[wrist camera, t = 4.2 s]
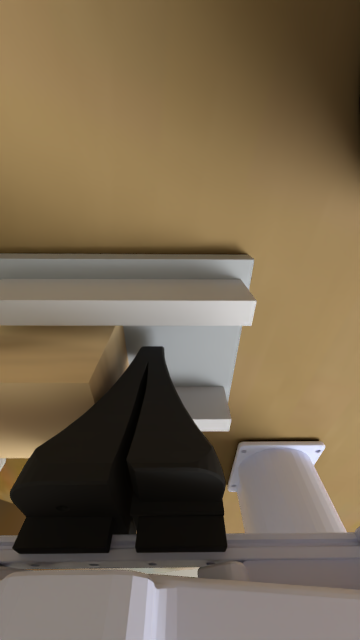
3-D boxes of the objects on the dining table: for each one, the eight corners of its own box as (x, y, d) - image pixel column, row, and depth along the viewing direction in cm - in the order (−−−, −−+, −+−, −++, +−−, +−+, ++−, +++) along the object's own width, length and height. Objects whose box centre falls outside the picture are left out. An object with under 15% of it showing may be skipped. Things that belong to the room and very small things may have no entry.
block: (130, 378, 14) (110, 457, 10) (41, 378, 14) (-18, 458, 10) (121, 313, 12) (88, 382, 7) (11, 313, 12) (-85, 382, 7)
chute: (224, 396, 17) (234, 440, 14) (-19, 396, 17) (-62, 441, 14) (248, 254, 11) (274, 277, 8) (-119, 253, 11) (-232, 275, 8)
